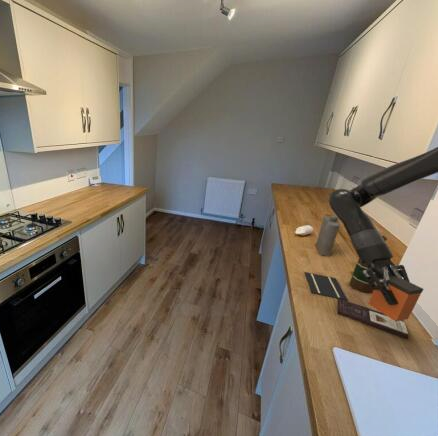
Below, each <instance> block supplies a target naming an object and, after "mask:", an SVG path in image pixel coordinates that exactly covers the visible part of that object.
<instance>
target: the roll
mask: <svg viewBox="0 0 438 436" xmlns="http://www.w3.org/2000/svg"><path fill="white" fill-rule="evenodd" d="M295 229H296V230H295V231H294V232H295V234H297V235H298V236H301V237H302V236H306V235H309V234H312V233H313V232H314V227H313V226H311V225H309V224H306V225H302V226H299V227H296V228H295Z"/></svg>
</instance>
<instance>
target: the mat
mask: <svg viewBox="0 0 438 436" xmlns="http://www.w3.org/2000/svg"><path fill="white" fill-rule="evenodd" d="M304 275H305V278H306V281H307V283H308V287H309V289H310V292H311V294H315V295H320V296H323V297H328V298H329V297H330V298H331V299H332V298H333V299H337V300H338V298H339V299H342V300H345V301H348V302H349V300H348V298H347V295H346V294H345V292H344V291H343V289H342V287H341V285H340V283H339V281H338V280H337V278H336V277H332V276H327V275H322V274H316V273H312V272H306V271H304Z"/></svg>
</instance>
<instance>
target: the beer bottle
mask: <svg viewBox="0 0 438 436" xmlns="http://www.w3.org/2000/svg"><path fill="white" fill-rule="evenodd" d="M381 236H382V237H383V239H384V241H385V242H386V241H387V239H388V238H387V237H386V236H385V235H381ZM366 269H367V265H366V264H363V263H362V262H361V260H360V258H359V257H358V260H357V262H356V264H355V267H354V270H353V272H352V274H351V275H352V276H351V278H350V280H349V286H351V288H352V289H353V290H356V291H358V292H360V293H365V294H370V293H372V292H373V291H374V290H373V289H372V287H371V286H370V285H369V283H368V282H367V281H366V279H365V278H364V277H363V275H362V274H361V271H363V270H366ZM373 283H374V284H375V285H376V283H375V282H373Z"/></svg>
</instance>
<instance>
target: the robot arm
mask: <svg viewBox="0 0 438 436" xmlns="http://www.w3.org/2000/svg"><path fill="white" fill-rule="evenodd" d="M435 174H438V146H437V147H435V148H433V149H430V150H428V151H426V152H424V153H421V154H419V155H416V156H414V157H411V158H408V159H405V160H403V161H400V162H397V163H394V164H392V165H390V166H387V167H385V168H383V169H381V170H380V171H377V172H375V173H373V174H371V175H369V176H368V177H365V178H364V179H362V180H361V182H360V184H359V185H357V186H355V187H353V188H351V189H347V188H338V189H334V190H333V191H332V192H331V193H330V194H329V196H328V204H329V206H330V209H331V210H332V212H333V213H334V215H335V216H336V217H338V220H339V221H340V222H341V224H342V225H343V228H344V229H345V231H346V233H347V235H348V238H349V239H350V240H349V241H350V242H351V245H352V247H353V248H354V249H353V250H354V251H355V253H356V255H357V257H358V259H359V258H360V260H361V262H362V263H363V264H366V265H367V269H366V270H363V271H361V274H362V275H363V277H364V278H365V279H366V281H367V282H368V283H369V285H370V286H371V287H372V289H373V291H374V290H379V291H380V292H381V293H382V294H383V296H384V298H385V300H386V302H387V303H388V304H389V305H396V304H398V302H397V300H396V298H395V296H394V294H393V292H392V290H391V291H389V290H390V286H389V284H388V279H390V278H389V277H392V276H395V277H398V278H402V279H404V280H406V281H408V282H410V283H411V281H410V278H409V275H408V273H407V270H406V268H405V266H404V265H403V264H399V265H397V264H395V263H394V262H393V261H392V260H391V259H393V258H394V254H393V252H392V251H391V249H390V247H389V246H388V243H386V241H384V239H383V237H382V236H383V235H382V234H381V233H380V232H379V230H378V229H377V227H376V226H375V224H374V222H373V221H372V219H371V217H370V216H369V215H368V214H367V213H366V212H364V210H362V208H363V207H364V206H367V205H368V204H370V203H371V202H373V201H375V200H376V199H378V198H380V197H383V196H385V195H388V194H390V193H392V192H395V191H397V190H400V189H402V188H405V187H406V186H409V185H411V184H413V183H415V182H419V181H421V180H423V179H426V178H427V177H431V176H434V175H435ZM382 277H384V279H382V280H379V279H378V278H382ZM373 282H375V283H376V284H377V285H375V284H374V283H373ZM382 283H384V286H383V284H382Z"/></svg>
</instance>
